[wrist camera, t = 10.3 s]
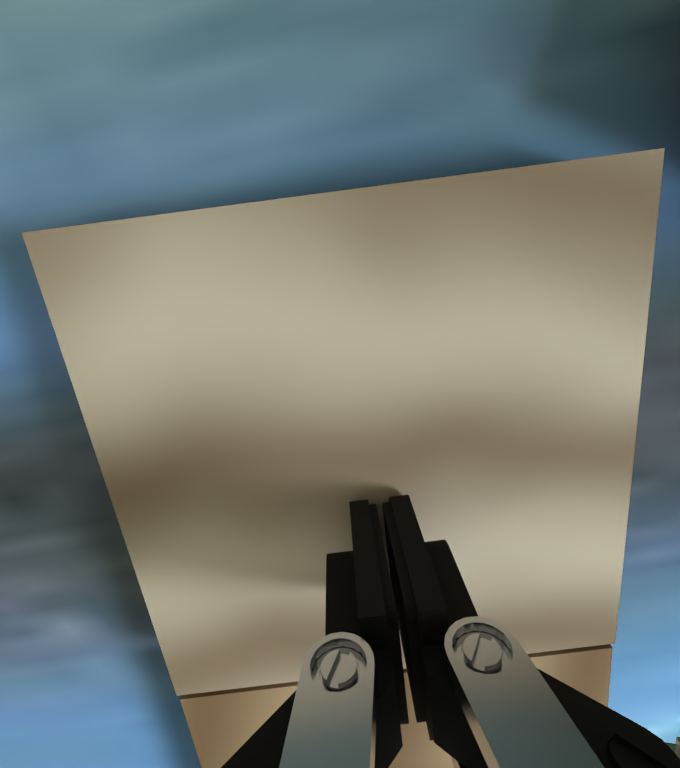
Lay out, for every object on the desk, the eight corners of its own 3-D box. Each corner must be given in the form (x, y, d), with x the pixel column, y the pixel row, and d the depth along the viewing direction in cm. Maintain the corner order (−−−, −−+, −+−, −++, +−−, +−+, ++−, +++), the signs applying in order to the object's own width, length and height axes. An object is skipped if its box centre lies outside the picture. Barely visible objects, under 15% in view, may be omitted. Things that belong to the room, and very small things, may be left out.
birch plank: (578, 593, 15) (615, 643, 13) (195, 640, 15) (176, 695, 13) (605, 166, 11) (664, 147, 9) (74, 236, 11) (21, 232, 9)
